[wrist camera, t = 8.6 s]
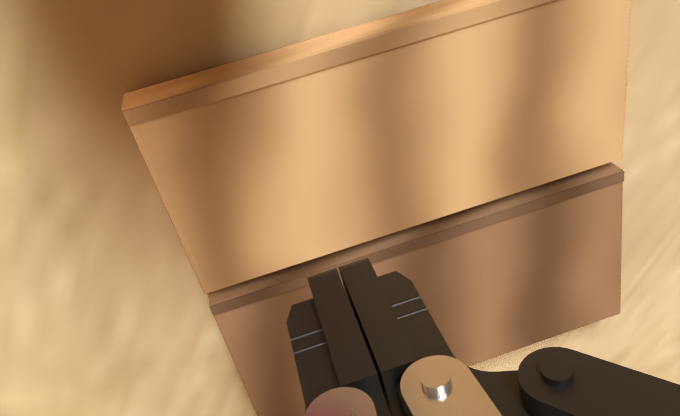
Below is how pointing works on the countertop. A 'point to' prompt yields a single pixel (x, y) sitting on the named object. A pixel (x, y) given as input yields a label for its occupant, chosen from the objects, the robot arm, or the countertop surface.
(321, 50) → the oak plank
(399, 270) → the walnut board
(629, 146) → the countertop surface
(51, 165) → the countertop surface
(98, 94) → the countertop surface
